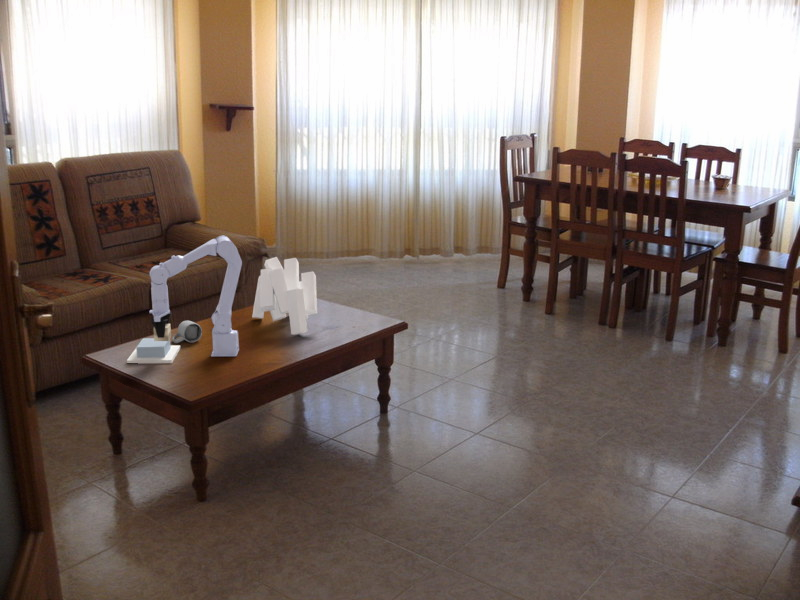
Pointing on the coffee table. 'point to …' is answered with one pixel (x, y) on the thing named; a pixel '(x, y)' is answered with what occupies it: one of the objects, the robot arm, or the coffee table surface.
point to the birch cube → (166, 336)
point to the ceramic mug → (188, 332)
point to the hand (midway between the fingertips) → (162, 334)
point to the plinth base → (155, 360)
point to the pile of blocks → (286, 293)
